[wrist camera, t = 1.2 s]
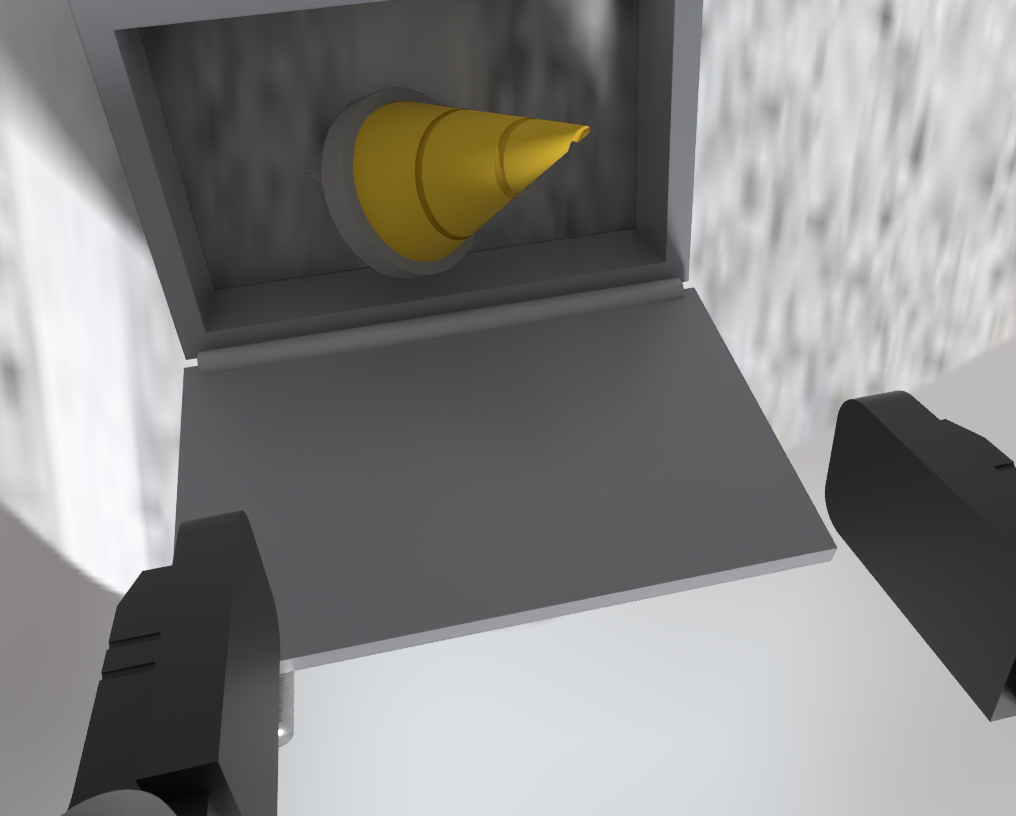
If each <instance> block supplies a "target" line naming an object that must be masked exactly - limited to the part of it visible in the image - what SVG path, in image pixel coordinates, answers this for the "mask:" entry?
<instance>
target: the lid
mask: <svg viewBox="0 0 1016 816" xmlns="http://www.w3.org/2000/svg"><path fill="white" fill-rule="evenodd" d="M197 361H198V366H194V367H188V368H184V378H183V396H182V414H181V432H180V450H179V468H178V486H177V504H176V522H175V540H174V552H175V547H176V541H177V535H178V530H179V526H180V524H181V522H183V521H187V520H192V519H197V518H203V517H208V516H214V515H219V514H224V513H230V512H235V511H241V510H243V511H244V512H245V513H246V515H247V516H248V519H249V521H250V524H251V527H252V531H253V534H254V537H255V540H256V543H257V546H258V550H259V553H260V556H261V559H262V562H263V565H264V569H265V572H266V575H267V578H268V581H269V584H270V588H271V591H272V594H273V597H274V601H275V606H276V611H277V616H278V623H279V633H280V674H281V673H286V672H291V671H295V670H300V669H305V668H310V667H315V666H319V665H324V664H330V663H334V662H339V661H344V660H349V659H354V658H359V657H364V656H369V655H374V654H378V653H383V652H388V651H393V650H397V649H403V648H408V647H413V646H418V645H422V644H427V643H432V642H437V641H442V640H447V639H452V638H457V637H462V636H466V635H471V634H476V633H481V632H486V631H491V630H496V629H501V628H505V627H510V626H515V625H520V624H525V623H530V622H535V621H540V620H545V619H549V618H554V617H559V616H564V615H569V614H574V613H579V612H584V611H588V610H593V609H598V608H603V607H608V606H613V605H618V604H623V603H627V602H632V601H637V600H642V599H647V598H652V597H657V596H661V595H667V594H672V593H676V592H681V591H686V590H691V589H696V588H701V587H705V586H710V585H716V584H720V583H725V582H730V581H735V580H740V579H745V578H749V577H755V576H760V575H764V574H769V573H774V572H779V571H784V570H789V569H793V568H798V567H803V566H808V565H813V564H818V563H823V562H828V561H831V560H832V558H833V556H834V554H835V552H836V550H837V547H836V544H835V543H834V541H833V539H832V537H831V535H830V534H829V532H828V530H827V528H826V526H825V524H824V523H823V521H822V519H821V517H820V515H819V513H818V512H817V510H816V508H815V506H814V505H813V503H812V501H811V499H810V497H809V495H808V494H807V492H806V490H805V488H804V486H803V484H802V483H801V481H800V479H799V477H798V475H797V473H796V472H795V470H794V468H793V466H792V464H791V463H790V461H789V459H788V457H787V455H786V453H785V452H784V450H783V448H782V446H781V444H780V443H779V441H778V439H777V437H776V435H775V433H774V432H773V430H772V428H771V426H770V424H769V423H768V421H767V419H766V417H765V415H764V414H763V412H762V410H761V408H760V406H759V404H758V403H757V401H756V399H755V397H754V395H753V394H752V392H751V390H750V388H749V386H748V384H747V383H746V381H745V379H744V377H743V375H742V374H741V372H740V370H739V368H738V366H737V364H736V363H735V361H734V359H733V357H732V355H731V354H730V352H729V350H728V348H727V346H726V344H725V343H724V341H723V339H722V337H721V335H720V334H719V332H718V330H717V328H716V326H715V324H714V323H713V321H712V319H711V317H710V315H709V314H708V312H707V310H706V308H705V306H704V304H703V303H702V301H701V299H700V297H699V295H698V294H697V292H696V290H695V288H688V289H684V288H683V284H682V281H681V279H680V278H678V277H677V278H671V279H665V280H658V281H652V282H645V283H639V284H633V285H626V286H620V287H613V288H607V289H600V290H594V291H588V292H581V293H575V294H568V295H562V296H556V297H549V298H543V299H536V300H530V301H523V302H517V303H511V304H504V305H498V306H491V307H485V308H479V309H472V310H466V311H459V312H453V313H446V314H440V315H434V316H427V317H421V318H414V319H408V320H401V321H395V322H389V323H382V324H376V325H369V326H363V327H357V328H350V329H344V330H337V331H331V332H324V333H318V334H312V335H305V336H299V337H292V338H286V339H280V340H273V341H267V342H260V343H254V344H247V345H241V346H235V347H228V348H222V349H215V350H209V351H203V352H198V354H197Z"/></svg>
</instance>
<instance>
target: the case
mask: <svg viewBox="0 0 1016 816" xmlns="http://www.w3.org/2000/svg"><path fill="white" fill-rule="evenodd" d="M68 1H69V4H70V7H71V10H72V13H73V16H74V19H75V22H76V25H77V28H78V31H79V34H80V38H81V41H82V44H83V47H84V50H85V53H86V56H87V59H88V62H89V65H90V68H91V71H92V74H93V77H94V80H95V83H96V86H97V89H98V93H99V96H100V99H101V102H102V105H103V108H104V111H105V114H106V117H107V120H108V123H109V126H110V129H111V132H112V135H113V138H114V141H115V145H116V148H117V151H118V154H119V157H120V160H121V163H122V166H123V169H124V172H125V175H126V178H127V181H128V184H129V187H130V190H131V193H132V196H133V200H134V203H135V206H136V209H137V212H138V215H139V218H140V221H141V224H142V227H143V230H144V233H145V236H146V239H147V242H148V245H149V248H150V252H151V255H152V258H153V261H154V264H155V267H156V270H157V273H158V276H159V279H160V282H161V285H162V288H163V291H164V294H165V297H166V300H167V303H168V307H169V310H170V313H171V316H172V319H173V322H174V325H175V328H176V331H177V334H178V337H179V340H180V343H181V346H182V349H183V352H184V355H185V359H186V360H188V359H195V358H197V354H198V352H203V351H209V350H215V349H222V348H228V347H235V346H241V345H247V344H254V343H260V342H267V341H273V340H280V339H286V338H292V337H299V336H305V335H312V334H318V333H324V332H331V331H337V330H344V329H350V328H357V327H363V326H369V325H376V324H382V323H389V322H395V321H401V320H408V319H414V318H421V317H427V316H434V315H440V314H446V313H453V312H459V311H466V310H472V309H479V308H485V307H491V306H498V305H504V304H511V303H517V302H523V301H530V300H536V299H543V298H549V297H556V296H562V295H568V294H575V293H581V292H588V291H594V290H600V289H607V288H613V287H620V286H626V285H633V284H639V283H645V282H652V281H658V280H665V279H671V278H677V277H678V278H680V279H681V281H682V282H686V281H688V280H689V260H690V241H691V222H692V203H693V183H694V164H695V145H696V126H697V106H698V87H699V68H700V49H701V29H702V10H703V0H639V27H638V101H637V174H636V228H634V229H628V230H621V231H614V232H607V233H600V234H594V235H587V236H580V237H573V238H566V239H560V240H553V241H546V242H539V243H532V244H526V245H519V246H512V247H505V248H498V249H492V250H485V251H478V252H471V253H466V254H465V256H464V257H463V258H462V259H461V261H459V262H458V263H457V264H455V265H454V266H453V267H451V268H450V269H448V270H445V271H443V272H440V273H437V274H432V275H427V276H422V277H416V278H407V279H402V278H395V277H390V276H388V275H385V274H383V273H380V272H377V271H376V270H374V269H373V268H371V267H369V268H363V269H356V270H349V271H342V272H335V273H329V274H322V275H315V276H308V277H302V278H295V279H288V280H281V281H274V282H268V283H261V284H254V285H247V286H240V287H234V288H227V289H220V290H214V287H213V283H212V280H211V276H210V273H209V269H208V266H207V263H206V259H205V256H204V252H203V249H202V245H201V242H200V238H199V235H198V232H197V228H196V225H195V221H194V218H193V214H192V211H191V207H190V204H189V201H188V197H187V194H186V190H185V187H184V183H183V180H182V176H181V173H180V169H179V166H178V163H177V159H176V156H175V152H174V149H173V145H172V142H171V138H170V135H169V132H168V128H167V125H166V121H165V118H164V114H163V111H162V107H161V104H160V101H159V97H158V94H157V90H156V87H155V83H154V80H153V76H152V73H151V69H150V66H149V63H148V59H147V56H146V52H145V49H144V45H143V42H142V38H141V35H140V32H139V27H148V26H157V25H166V24H176V23H185V22H194V21H203V20H213V19H222V18H231V17H241V16H250V15H259V14H268V13H278V12H287V11H296V10H305V9H315V8H324V7H333V6H342V5H352V4H361V3H370V2H379V1H389V0H68Z"/></svg>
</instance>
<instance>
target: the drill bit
mask: <svg viewBox="0 0 1016 816" xmlns="http://www.w3.org/2000/svg"><path fill="white" fill-rule="evenodd" d="M589 132H590V128H589V127H588V126H584V125H578V124H571V123H564V122H556V121H549V120H542V119H534V118H527V117H520V116H513V115H505V114H498V113H491V112H483V111H476V110H468V109H461V108H454V107H447V106H439V105H438V104H437V103H436V102H435V101H433V100H432V99H430V98H428V97H427V96H425V95H424V94H422V93H419V92H416V91H414V90H411V89H407V88H397V87H394V88H388V89H383V90H380V91H377V92H375V93H373V94H371V95H368V96H366V97H364V98H361V99H359V100H357V101H355V102H353V103H351V104H349V105H348V106H347V107H346V108H345V109H344V110H343V111H341V112H340V113H339V114H338V115H337V117H336V119H335V120H334V122H333V123H332V125H331V126H330V128H329V131H328V134H327V136H326V139H325V142H324V146H323V153H322V159H321V169H320V170H317V171H314V172H312V173H309V174H306V175H307V176H308V177H310V178H311V179H312V180H314V181H315V182H317V183H318V184H319V185H321V186H322V187H323V191H324V197H325V201H326V204H327V207H328V210H329V213H330V216H331V218H332V220H333V222H334V224H335V226H336V228H337V230H338V232H339V234H340V236H341V237H342V238H343V240H344V241H345V242H346V244H347V245H348V247H349V248H350V249H351V251H352V252H353V253H355V254H356V255H357V256H358V257H359V258H360V259H361V260H362V261H363V262H364V263H365V264H367V265H368V266H370V267H371V268H373V269H374V270H376V271H377V272H380V273H383V274H385V275H388V276H390V277H395V278H402V279H407V278H416V277H422V276H427V275H432V274H437V273H440V272H443V271H445V270H448V269H450V268H451V267H453V266H454V265H455V264H457V263H458V262H459V261H461V259H462V258H463V257H464V256H465V254H466V253H467V252H468V251H469V249H470V247H471V245H472V243H473V241H474V239H475V237H476V233H477V230H479V229H480V228H481V227H482V226H483V225H484V224H485V223H487V222H488V221H489V220H490V219H491V218H492V217H493V216H495V215H496V214H497V213H498V212H499V211H500V210H501V209H503V208H504V207H505V206H506V205H507V204H508V203H509V202H511V201H512V200H513V199H514V198H515V197H516V196H517V195H518V194H519V193H521V192H522V191H523V190H524V189H525V188H527V187H528V186H529V185H530V184H531V183H532V182H533V181H535V180H536V179H537V178H538V177H539V176H540V175H541V174H543V173H544V172H545V171H546V170H547V169H548V168H549V167H551V166H552V165H553V164H554V163H555V162H556V161H557V160H559V159H560V158H561V157H562V156H563V155H564V154H565V153H567V152H568V150H569V146H570V143H571V142H572V141H575V142H579V141H580V140H581V139H583V138H584V137H585V136H586V135H587V134H588V133H589Z"/></svg>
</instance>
